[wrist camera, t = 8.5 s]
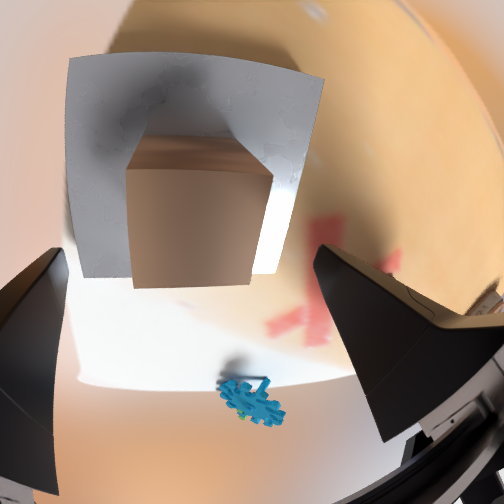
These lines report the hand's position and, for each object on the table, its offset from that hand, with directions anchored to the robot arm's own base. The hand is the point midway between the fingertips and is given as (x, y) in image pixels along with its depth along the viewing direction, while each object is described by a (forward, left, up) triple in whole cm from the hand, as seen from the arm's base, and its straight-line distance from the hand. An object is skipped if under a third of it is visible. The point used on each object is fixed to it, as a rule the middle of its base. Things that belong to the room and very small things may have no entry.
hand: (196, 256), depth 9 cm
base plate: (0, 0, -10) cm, 10 cm away
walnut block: (0, 0, -7) cm, 7 cm away
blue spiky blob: (-9, +30, -10) cm, 33 cm away
